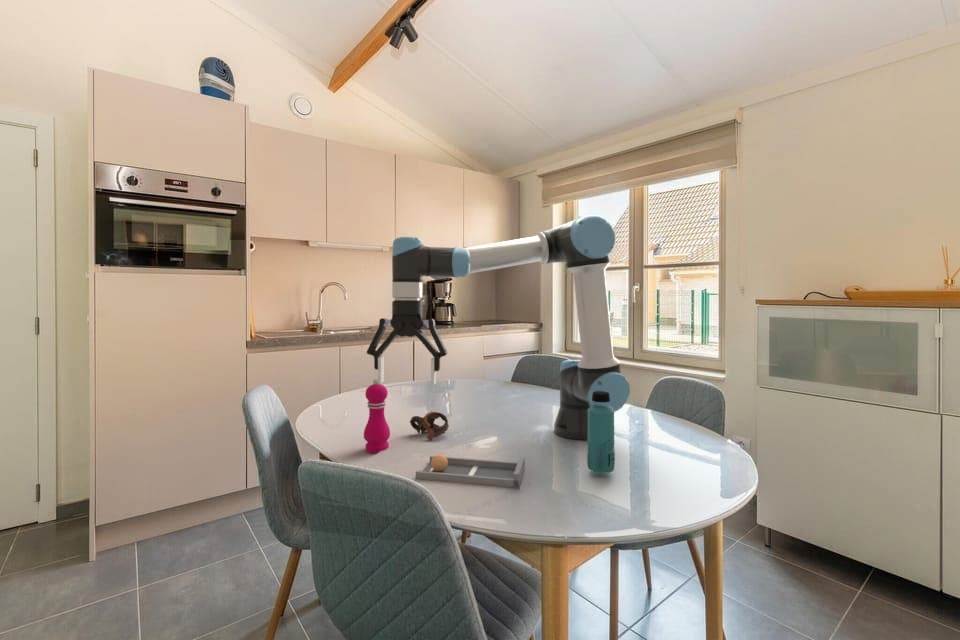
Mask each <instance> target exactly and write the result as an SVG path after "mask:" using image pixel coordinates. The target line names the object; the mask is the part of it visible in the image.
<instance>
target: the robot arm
mask: <svg viewBox="0 0 960 640" xmlns="http://www.w3.org/2000/svg"><path fill="white" fill-rule="evenodd" d="M615 244H616V233H615V230H614V228H613V226H612V225H611V223H610V222H609V220H606V219H605V218H604V217H602V216H600V215H595V214H590V215H589V214H588V215H584V216H580V217H578V218H576V219H573V220H572V221H569V222H566V223H564V224H561V225H559V226H557V227H554V228H551V229H548V230H543V231H538V232H537V233H536V234H535V236H529V237H522V238H518V239H517V238H516V239H511V240H506V241H499V242H494V243H487V244H486V243H485V244H482V245H481V244H480V245H476V246H469V247H464V248H463V247H457V246H455V247H442V246H441V247H439V246H433V247H432V246H425V245H424V242H423V239H422V238H420V237H413V236H399V237H396V238H394V239H393V242H392V251H391V252H392V256H391V260H392V262H391V265H392V267H391V268H392V271H391V274H392V275H391V277H392V282H391V283H392V286H391V288H392V290H391V291H392V292H391V293H392V294H391V297H392V299H394V300H392V304H391V308H392V309H391V313H392V314H391V315H392V317H391V319H389V318H386V317H383V318H380V319H379V322H378V328H377V331H376V332H375V334H374V336H373V338H372V340H371V342H370V344H369V346H368V348H367V350H366V354H367V355H370V356H372V357H373V358H374V359H373V360H374V364H373V367H374V370H377V379H378V383H379V384H382V383H384V382H385V356H384V355H383V353H384V352H385V351H386V350H387V349H388V347H390V345H391V344H392V342H394V340H395V339H396V338H397V337H398V336H399V337H402V338H403V337H414V336H416V338H417V339H419V341H420V342H421V343H422V344H423V346H424V347H425V348H426V349H427V350H428V351H429V353H430V354H431V356H432V358H430V385H431V386H435V384H436V383H437V372H439V371H441V358H442V357H445V356H447V355H448V351H447V348H446V347H445V344H444V342H443V340H442V337H441V336H440V334H439V331H438V330H437V328H436V320H435V319H434V318H430V319H424V318H423V302H422V300H421V299H422V298H423V277H430V278H432V279H433V280H436V281H439V280H444V279H448V278H456V279H457V278H465V277H467V276H468V275H470V274H475V273H481V272H486V271H492V270H498V269H503V268H510V267H514V266H520V265H526V264H531V263H538V262H539V263H540V264H542V265H546V264H552V263H566V270H568V272H570V273H571V274H572V276H573V284H574V285H573V286H574V293H575V294H574V295H575V302H576V312H577V322H578V331H579V339H580V341H579V342H580V351H581V359H567V360H563V361H562V362H560V366H559V367H560V369H559V409H558V412H557V416H556V418H555V421H554V424H553V426H554V427H553V432H554V433H555V434H556V435H558V436H560V437H562V438H563V437H564V438H567V439H572V440H587V436H588V409H589V408H590V407H591V406H592V405H595V404H603V405H608V406H610V407H611V408H612V409H613V410H614V413H616V412H617V411H619V410H621V409H622V408H624V406H625V404H627V402H628V401H629V398H630V394H631V385H630V382H629V380H628V379H627V378H626V377H625V376H624V375H623V374H622V371H621V363H620V360H619V359H618V358H617V357H615V356H614V351H613V349H614V348H613V338H612V327H611V317H610V309H609V297H608V292H607V291H608V289H607V280H606V279H607V278H606V269H607V268H608V267H609V266H610V265H611V262H610V260H611V259H610V253H611V252H612V250H613V249H614V247H615ZM389 325H391V327H392V328H393V329H392V331H391V332H390V333H389V335H388V336H387V337H386V339H385V340H384V341H383V342H382V344H381V345H380V346H379V347H378V345H379V344H380V341H381V339H382V338H383V335H384V334H385V331H386V329H387V328H388V327H389ZM424 325H425V326H426V328H427V329H428V330H429V332H430V335H431V336H432V338H433V341H434V343H435V345H436V347H437V348H436V347H435V346H434V344H432V342H431V341H430V339H428V337H427V336H426V334H425V333H424V331H422V328H423V327H424ZM382 355H383V356H382ZM594 391H605V392H608V393H609V396H610V402H604V403H603V402H595V401H592V395H593V392H594Z"/></svg>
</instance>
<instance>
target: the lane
mask: <svg viewBox="0 0 960 640" xmlns="http://www.w3.org/2000/svg"><path fill="white" fill-rule="evenodd" d="M434 456H435V455H430V456H429V462H428V464H427V465H426V466H425V467H424V468H423V470H416V471H415V479H417V480H424V481H425V480H428V481H440V482H449V483H461V484H473V485H484V486H495V487H504V488H505V487H506V488H516V489H517V488H518V491H520V488H521V484H522V481H523V478H524V475H525V470H526V467H525V465H526V463H525V462H526V461H525V456H519V457H518V460H517V461H508V460H507V461H505V460H504V461H503V460H492V459H491V460H490V459H479V458H468V457H467V458H465V457H451V456H445V457H446V458H447V461H448V464H447V467H446V468H445V469H444V470H443V471H435V470H434V469H433V468H432V466H431V460H432V458H433V457H434Z"/></svg>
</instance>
